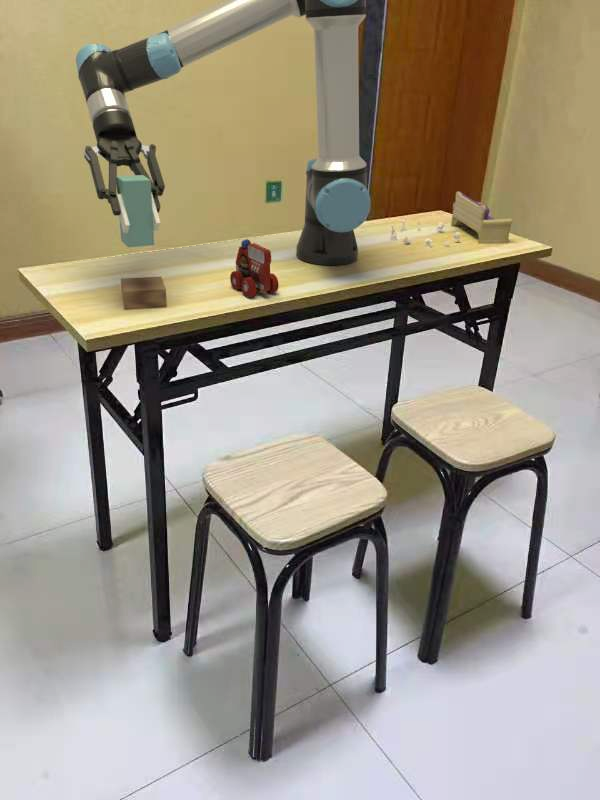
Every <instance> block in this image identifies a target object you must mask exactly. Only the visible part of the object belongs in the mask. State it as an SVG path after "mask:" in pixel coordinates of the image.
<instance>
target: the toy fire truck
mask: <svg viewBox="0 0 600 800" xmlns="http://www.w3.org/2000/svg"><path fill="white" fill-rule="evenodd" d="M271 263H272V252H271V250H270V249H268V248H266V247H263V246H261V245H259V244H257V243H254V242H251V240H249V239H243V240H242V241H241V244H240V246H239V247H238V251H237V255H236V259H235V270H234V271H231V273H230V285H231V286H232V288H233V290H235V291H240V290H241V291H242V295H244V296H245V297H246V298H253V297H255V296H256V293H257V292H266V293H267V294H275V293H277V291H278V289H279V287H280V286H279V280H278V277H277V275H276V274H275V273H273V272H271Z"/></svg>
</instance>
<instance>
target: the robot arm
mask: <svg viewBox="0 0 600 800" xmlns="http://www.w3.org/2000/svg"><path fill="white" fill-rule="evenodd" d="M366 15H367V0H224V1H223V2H221V3H219V4H217V5H215V6H212V7H211V8H208V9H206V10H204V11H203V12H200V13H199V14H197V15H194V16H191V17H190V18H189V19H186V20H184V21H182V22H180V23H178V24H176V25H174V26H172V27H170V28H168V29H167V30H163V31H162V32H160V33H156V34H154V35H151V36H148V37H147V38H146V37H145V38H143V39H141V40H139V41H136V42H133V43H130V44H129V45H126V46H123V47H121V48H119V49H115V50H111V49H110V47H108V46H107V45H105V44H103V43H97V44H96V43H95V44H94V43H88V44H86V45H83V46H82V47H81V48H80V49H79V50H78V52H77V53H76V56H75V64H76V68H77V75H78V76H77V78H78V81H79V82H80V86H81V88H82V93H83V95H84V99H85V103H86V106H87V109H88V113H89V117H90V121H91V124H92V129H93V132H94V136H95V140H96V145H95V146H91V145H86V146H85V147H84V149H85V150H84V157H83V158H84V159H85V161H86V162H87V163H88V165H89V168H90V172H91V175H92V180H93V184H94V187H95V191H96V195H97V198H98V200H105V199H106V201H107V204H108V203H109V205H110V207H111V211H112V214H113V216H118V218H119V222H120V221H121V225H122V229H123V232H124V233H128V230H129V226H130V224H129V220H128V217H127V213H126V210H125V206H124V203H123V199H122V195H121V194H118V193H117V178H116V176H118V167H121V166H126V167H128V168H129V169H130V171H131V172H133V174H134V175H144V176H145V177H147V178H148V179H150V180H151V194H152V214H153V230H154V232H155V231H158V230H159V228H160V225H161V219H160V215H159V213H160V210H161V203H160V200H159V197H161V196H163V194H164V191H165V188H166V184H165V181H164V178H163V175H162V172H161V169H160V165H159V163H158V159H157V156H156V151H157V146H156V145H155V144H153V143H152V144H150V145H149V146H147V145H144V144H142V142H141V140H139V139H138V136H137V132H136V128H135V125H134V123H133V122H134V121H133V118H132V114H131V111H130V108H129V104H128V101H127V99H126V95H125V94H126V93H129V92H131V91H134V90H136V89H138V88H142V87H145V86H148V85H151V84H154V83H157V82H159V81H162V80H168V79H170V78H171V77H172V76H175V75H177V74H179V73H180V72H181V70H182V68H183V67H184V68H185V67H187V65H190V64H193V63H195V62H196V61H198V60H199V61H200V60H201V59H202V58H205V57H206V56H209V55H211V54H213V53H215V52H217V51H219V50H222V49H223V48H225V47H229V46H230V45H232V44H234V43H237V42H238V41H241V40H243V39H244V38H246V37H247V38H248V37H249V36H251V35H252V34H256V33H257V32H259V31H262V30H264V29H266V28H267V27H270V26H272V25H274V24H276V23H278V22H280V21H282V20H285V19H286V18H289V17H291V16H294V17H296V18H301V17H303V16H305V21H306V22H307V23H308V24H309V25H310V26H311V27H312V28H313V36H314V38H313V40H314V62H315V87H316V88H315V90H316V92H315V93H316V95H315V96H316V118H317V119H316V120H317V121H316V122H317V123H316V124H317V145H318V146H317V148H318V149H317V151H318V153H317V154H318V157H317V158H312V159H309V160H308V161H307V165H306V170H305V174H306V181H305V185H306V187H305V202H304V203H305V207H304V208H305V209H304V210H305V211H304V225H303V226H302V227H303V228H302V229H301V230H302V231H301V233H300V236H299V239H298V240H297V241H298V243H297V244H296V251H295V252H296V253H295V254H296V256H295V257H297V259H299V260H300V261H302V262H305V263H309V264H315V265H321V266H339V265H340V266H342V265H347V264H351V263H353V262H356V261H357V260H358V255H359V248H358V247H359V246H358V243H357V238H356V234H355V231H354V230H356V229H357V228H359V227H361V225H362V224H364V222H365V221H366V220H367V218H368V216H369V214H370V211H371V201H372V200H371V196H370V195H371V194H370V192H369V190H368V188H367V187H368V185H367V182H368V181H367V180H368V179H367V162H366V161H365V160H364V159H363V158H362V157H361V156H360V117H359V116H360V113H359V112H360V110H359V108H360V106H359V105H360V104H359V103H360V99H359V94H360V93H359V89H360V88H359V87H360V86H359V82H360V81H359V73H360V72H359V26H360V24H361V23H362V22H363V21H364V20H365V18H366V17H367V16H366ZM141 153H142V154H143V157H144V159H145V160H146V162H147V163H146V164H147V167H148V170H149V174H150V176H151V177H150V176H149V174H148V172H147V170H146V169H145V167H144V165H143V164H142V162H141V159H140V156H139V155H140V154H141ZM99 155H100V156H101V157H102V158H104V160H106V161H107V162H108V188H106V185H105V180H104V177H103V173H102V170H101V165H100V161H99Z"/></svg>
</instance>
